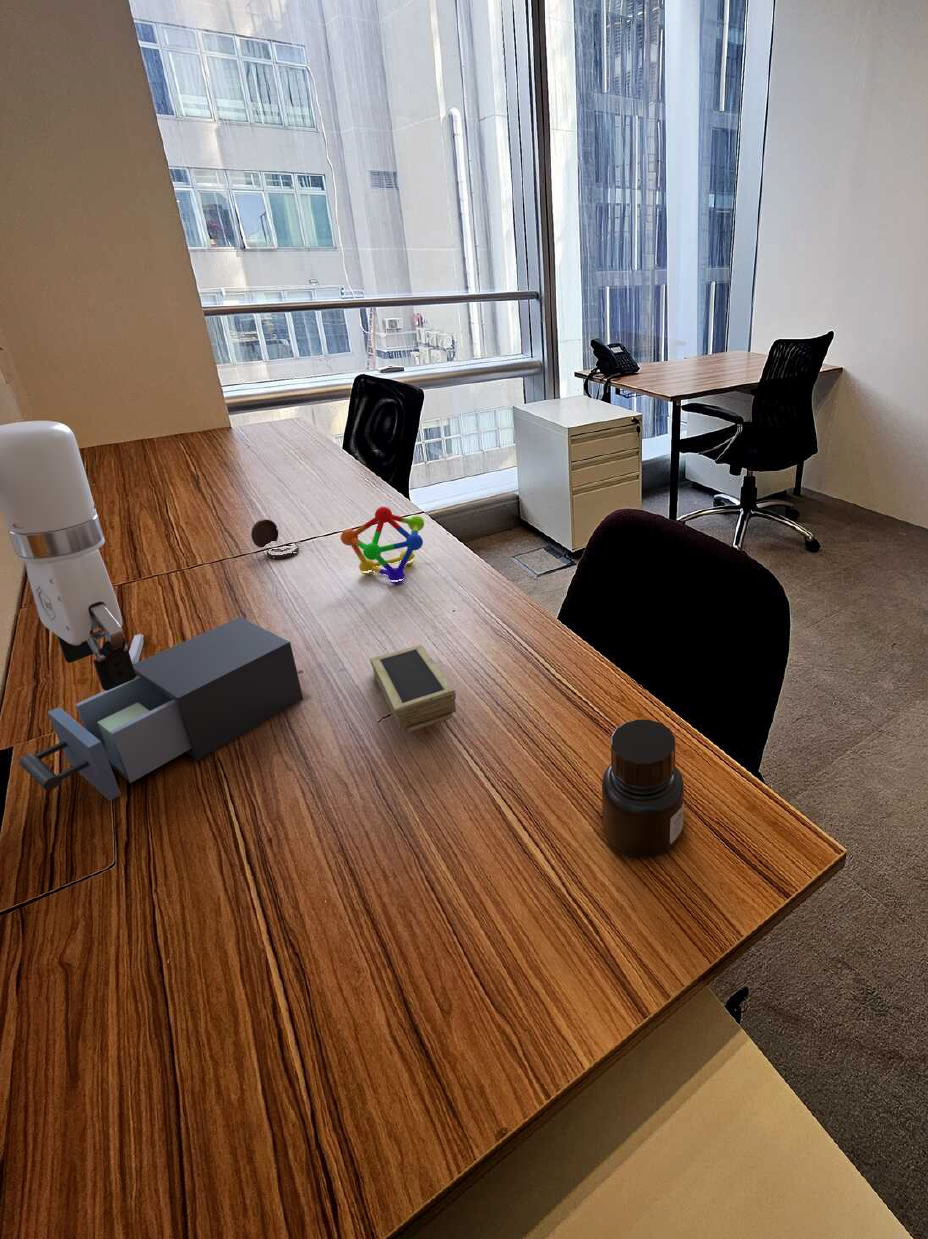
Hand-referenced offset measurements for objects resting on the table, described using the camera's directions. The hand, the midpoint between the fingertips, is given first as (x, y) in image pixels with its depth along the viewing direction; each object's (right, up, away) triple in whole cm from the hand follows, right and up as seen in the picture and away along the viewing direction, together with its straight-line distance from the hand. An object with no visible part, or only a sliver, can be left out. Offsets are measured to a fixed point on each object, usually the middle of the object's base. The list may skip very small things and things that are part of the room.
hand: (100, 670), depth 77 cm
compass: (-11, +11, +63) cm, 65 cm away
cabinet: (+7, -9, +14) cm, 18 cm away
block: (+1, -11, +5) cm, 12 cm away
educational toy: (+17, +6, +52) cm, 55 cm away
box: (+31, -8, +17) cm, 37 cm away
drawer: (0, -12, +5) cm, 13 cm away
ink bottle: (+64, -17, -4) cm, 66 cm away
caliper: (-13, -6, +24) cm, 28 cm away
